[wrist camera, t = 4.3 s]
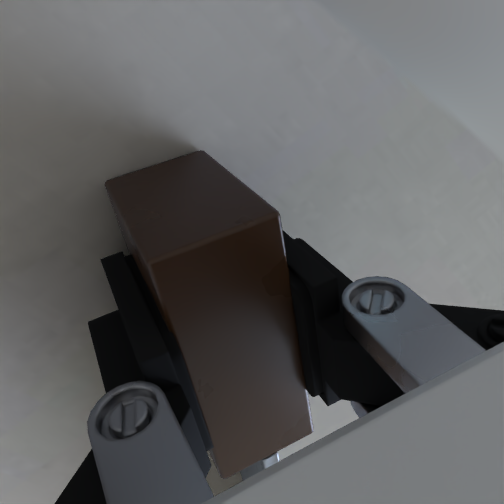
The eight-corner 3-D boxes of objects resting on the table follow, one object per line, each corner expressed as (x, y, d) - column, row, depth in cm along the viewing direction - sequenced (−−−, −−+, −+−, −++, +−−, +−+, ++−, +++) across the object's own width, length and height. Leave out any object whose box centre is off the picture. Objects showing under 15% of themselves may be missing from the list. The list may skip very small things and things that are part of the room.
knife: (102, 180, 11) (145, 262, 8) (202, 148, 11) (281, 211, 8) (231, 530, 19) (278, 641, 16) (285, 499, 19) (341, 600, 16)
